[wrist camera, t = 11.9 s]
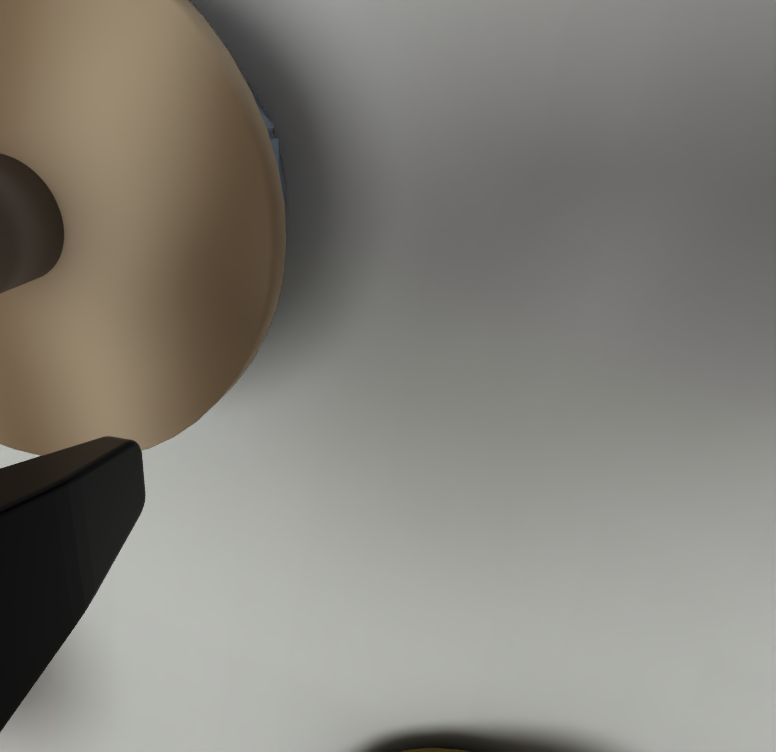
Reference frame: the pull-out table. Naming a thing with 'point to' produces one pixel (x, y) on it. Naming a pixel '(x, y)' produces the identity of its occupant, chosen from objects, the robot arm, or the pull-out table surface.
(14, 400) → the paper towel holder
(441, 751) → the potato
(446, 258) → the pull-out table surface
